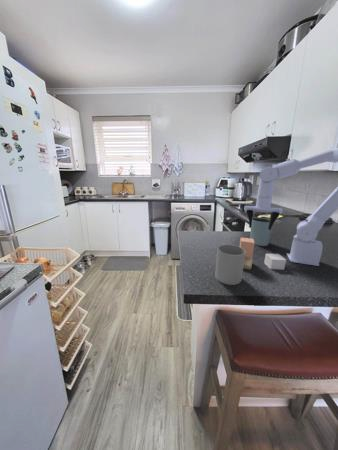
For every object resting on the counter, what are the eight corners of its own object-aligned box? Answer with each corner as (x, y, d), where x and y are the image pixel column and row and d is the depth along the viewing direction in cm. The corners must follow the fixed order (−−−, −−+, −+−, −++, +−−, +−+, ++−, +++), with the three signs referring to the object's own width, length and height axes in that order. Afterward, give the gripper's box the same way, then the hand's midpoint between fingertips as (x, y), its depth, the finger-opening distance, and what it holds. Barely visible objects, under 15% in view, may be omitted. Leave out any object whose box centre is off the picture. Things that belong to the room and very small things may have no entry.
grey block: (277, 263, 74) (278, 254, 73) (284, 269, 69) (286, 259, 68) (264, 263, 74) (265, 253, 73) (270, 269, 69) (272, 259, 68)
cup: (221, 268, 68) (224, 242, 66) (244, 276, 63) (248, 249, 61) (210, 278, 62) (213, 250, 59) (235, 288, 57) (239, 257, 54)
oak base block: (251, 263, 74) (252, 253, 72) (250, 270, 68) (252, 260, 67) (235, 260, 76) (236, 251, 75) (233, 266, 71) (234, 256, 69)
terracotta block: (251, 253, 73) (253, 238, 71) (252, 258, 69) (254, 242, 67) (238, 251, 74) (240, 237, 72) (239, 256, 70) (241, 241, 68)
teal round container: (264, 248, 88) (268, 223, 85) (243, 242, 96) (247, 218, 92) (273, 243, 95) (277, 220, 91) (253, 237, 102) (256, 216, 99)
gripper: (282, 197, 81) (276, 227, 84) (245, 194, 85) (241, 224, 89) (286, 199, 74) (279, 232, 78) (246, 196, 79) (242, 228, 82)
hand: (259, 228), depth 83 cm, fingers open, 7 cm apart
